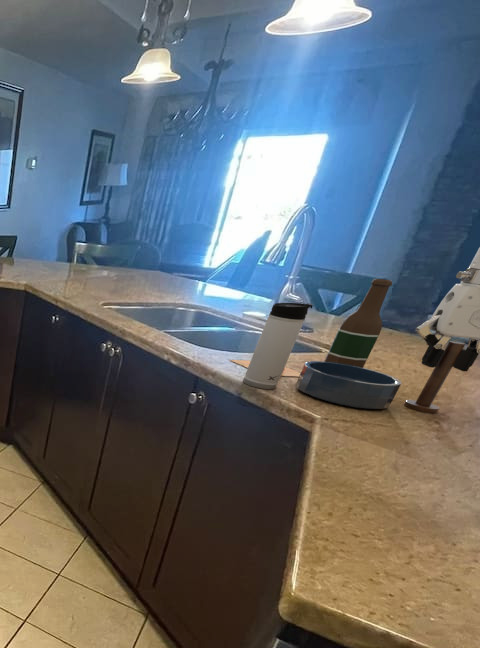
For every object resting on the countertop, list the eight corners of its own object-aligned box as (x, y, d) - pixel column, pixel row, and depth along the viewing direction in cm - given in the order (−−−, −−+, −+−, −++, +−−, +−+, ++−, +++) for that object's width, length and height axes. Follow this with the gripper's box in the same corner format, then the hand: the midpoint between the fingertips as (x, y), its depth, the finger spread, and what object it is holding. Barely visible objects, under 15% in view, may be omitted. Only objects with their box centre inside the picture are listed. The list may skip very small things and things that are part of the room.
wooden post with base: (441, 411, 106) (480, 345, 100) (431, 414, 104) (470, 347, 98) (410, 402, 110) (445, 338, 104) (399, 405, 108) (434, 340, 102)
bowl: (401, 405, 108) (415, 380, 105) (366, 415, 102) (379, 389, 100) (316, 381, 121) (326, 358, 118) (280, 388, 115) (290, 364, 113)
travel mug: (276, 392, 113) (313, 306, 105) (241, 384, 117) (274, 301, 109) (278, 385, 117) (313, 302, 109) (243, 378, 121) (275, 297, 113)
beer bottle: (366, 378, 124) (414, 283, 115) (328, 373, 127) (372, 280, 117) (350, 369, 131) (393, 278, 121) (314, 365, 133) (354, 275, 124)
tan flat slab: (264, 375, 123) (270, 359, 122) (228, 360, 135) (234, 345, 133) (310, 377, 124) (317, 361, 122) (271, 361, 135) (277, 346, 133)
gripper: (449, 278, 95) (402, 366, 103) (570, 287, 90) (512, 379, 97) (423, 273, 102) (381, 356, 109) (535, 281, 96) (483, 368, 104)
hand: (443, 366), depth 103 cm, fingers open, 4 cm apart
